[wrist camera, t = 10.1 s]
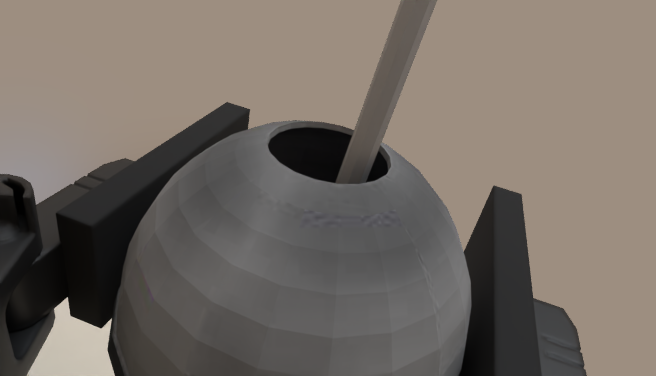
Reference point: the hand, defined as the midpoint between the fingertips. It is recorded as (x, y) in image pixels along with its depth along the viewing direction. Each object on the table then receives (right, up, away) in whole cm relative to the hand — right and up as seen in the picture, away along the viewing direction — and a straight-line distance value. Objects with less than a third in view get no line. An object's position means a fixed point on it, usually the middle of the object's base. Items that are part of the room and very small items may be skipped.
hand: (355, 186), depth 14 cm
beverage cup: (-4, -12, +2) cm, 13 cm away
